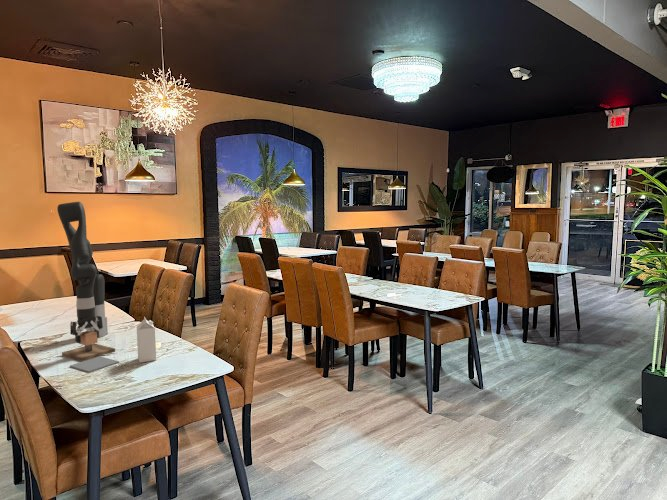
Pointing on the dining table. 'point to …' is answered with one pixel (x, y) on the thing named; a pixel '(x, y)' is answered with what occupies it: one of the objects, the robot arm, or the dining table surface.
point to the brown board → (88, 352)
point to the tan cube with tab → (88, 337)
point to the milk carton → (146, 341)
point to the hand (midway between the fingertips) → (87, 340)
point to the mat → (94, 364)
